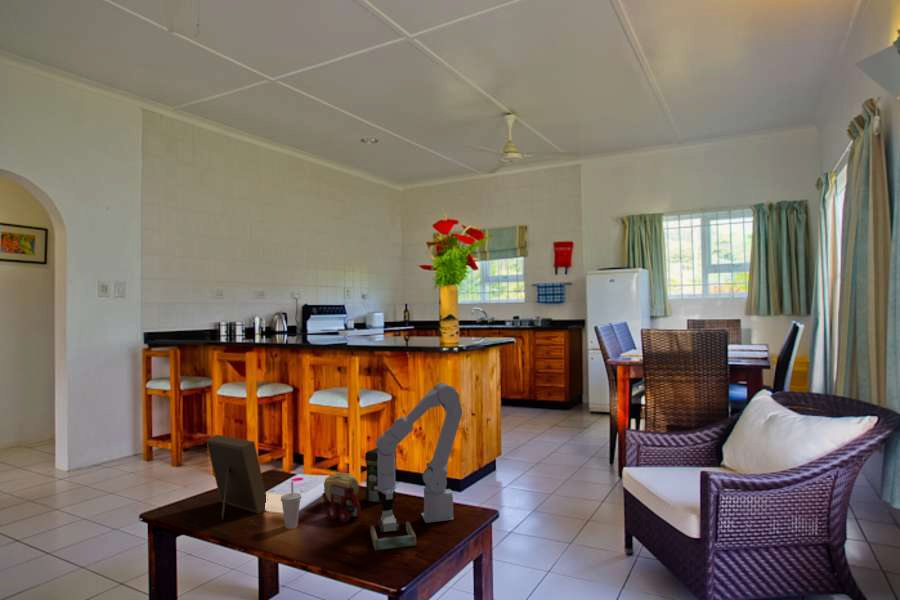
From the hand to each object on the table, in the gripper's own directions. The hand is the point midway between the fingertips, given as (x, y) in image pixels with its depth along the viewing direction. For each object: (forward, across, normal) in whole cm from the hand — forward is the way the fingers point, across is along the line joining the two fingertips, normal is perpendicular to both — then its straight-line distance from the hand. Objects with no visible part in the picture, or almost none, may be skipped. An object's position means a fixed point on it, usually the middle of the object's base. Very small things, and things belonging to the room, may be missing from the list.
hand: (386, 514), depth 171 cm
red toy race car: (+3, -9, -13) cm, 16 cm away
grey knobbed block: (+3, +5, 0) cm, 5 cm away
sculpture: (+3, -24, -13) cm, 28 cm away
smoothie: (+3, -6, -30) cm, 31 cm away
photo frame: (+3, -27, -51) cm, 58 cm away
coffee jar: (+3, -24, 0) cm, 24 cm away
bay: (+3, +13, 0) cm, 13 cm away
